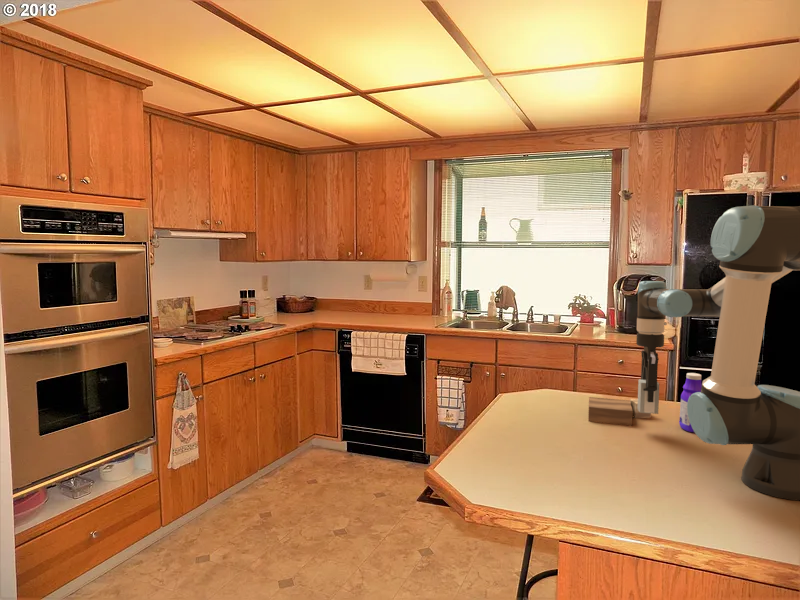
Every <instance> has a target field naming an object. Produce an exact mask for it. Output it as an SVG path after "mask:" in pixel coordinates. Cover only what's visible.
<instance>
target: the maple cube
mask: <svg viewBox="0 0 800 600" xmlns="http://www.w3.org/2000/svg"><path fill="white" fill-rule="evenodd" d="M629 401H630V403H631V407H632V410H633V415H632V417H633V416H634V417H633V418H634V419H651V416H652V413H640V412H639V410H638V409H637V407H638V398H636V399H632V398H630V399H629Z"/></svg>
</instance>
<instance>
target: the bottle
mask: <svg viewBox="0 0 800 600" xmlns="http://www.w3.org/2000/svg"><path fill="white" fill-rule="evenodd" d="M685 377H686V379H685V383H684V384H683V386H682V388H683V391H682V392H681V394H680V405H679V406H680V407H679V408H680V409H679V420H678V424H679V427H680V428H681V430H682V429H683V430H684V431H686V432H688V433H695V432H694V430H693V429H692V426H691V424H690V421H689V418H688V412H687V403H688V399H689V397H690V396H691V395H692V394H693V393H696V392H701V387H702V374H700V373H696V372H687V373H686V376H685Z"/></svg>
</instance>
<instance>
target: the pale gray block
mask: <svg viewBox="0 0 800 600" xmlns="http://www.w3.org/2000/svg"><path fill="white" fill-rule="evenodd" d="M637 382H638V384H637V399H638V407H637V409H638V410H639V412H640V413H647V412H644V401H645V391H643V389H646V380H641V378H639V379H638V381H637ZM659 403H660V382H658V381H657V390H655V412H654V413H651V415H652V414H655V415H658V414H659V410H660V409H659Z"/></svg>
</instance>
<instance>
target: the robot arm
mask: <svg viewBox="0 0 800 600" xmlns="http://www.w3.org/2000/svg"><path fill="white" fill-rule="evenodd" d="M710 248H712V249H711V252H712V253H711V254H712V255H713V256H714V258H716V259H717V260H718V261H719V265H718V267H719V268H720V269H721V271H722V272H724V275H725V277H723V278H722V279H721V280H720V281H718V282H717V283H716V284H714V285H713V286H711V287H710V288H708V289H705V288H704V289H703V288H701V289H698V288H695V289H689V288H687V289H686V288H685V289H684V288H681V289H680V288H667V283H666V282H665V281H659V280H656V281H655V280H643V281H640V282H639V284H638V288H637V289H638V292H637V316H636V331H637V332H636V341H635V342H636V345H637V346H638V347H642V348H643V350H641V366H640V367H641V370H640V379H641V380H646V389H643V391H645V401H644V412H647V413H651V414H652V413H654V412H655V390H657V382H658V365H659V354H658V352H657V350H656V349H657V348H662V347H663V348H664V346H665V335H664V334H663V333H664V332H665V326H667V325H668V323H667V322H666V317H668V318H681V317H682V318H683V317H718V318H719V320H718V326H717V333H716V339H715V344H714V345H715V346H714V353H713V358H712V359H713V360H712V366H711V371H710V372H711V373H710V376H708V377H707V378H705V379H703V380H702V381H701V384H702V387H701V392H696V393H693V394H692V395H691V396H690V397H689V399H688V403H687V412H688V418H689V421H690V424H691V426H692V429H693V430H694V432H693V433H694V434H695V435H696V436H697V437H698V438H699V440H701V441H702V442H703V443H705V444H710V445H721V446H727V445H752V448H751V450H750V453H749V455H748V457H747V459H746V461H745V463H744V465H743V467H742V469H741V470H742V471H741V481H742V482H743V484H744V485H746V486H747V487H749V488H751V489H752V490H755V491H756V492H759V493H762V494H765V495H768V496H772V497H776V498H780V499H786V500H791V501H800V391H798V390H796V389H795V390H793V389H790V388H786V387H782V386H776V385H769V384H758V385H756V384H755V382H756V378H757V370H758V366H759V365H758V364H759V359H760V353H761V347H762V343H763V342H762V341H763V336H764V329H765V324H766V318H767V317H766V316H767V312H768V305H769V302H770V301H769V300H770V294H771V288H772V284H773V283H775V282H776V281H778V280H780V279H781V278H783V277H784V276H786V275H788V274H789V273H791V272H792V271H800V205H799V206H796V205H795V206H777V205H776V206H774V205H772V206H771V205H756V204H755V205H743V206H735V207H731V208H729V209H727V210H726V211H724V212H723V214H722V215H721V216H719V218H718V219H717V221H716V222H715V224H714V226H713V229H712V232H711V237H710Z"/></svg>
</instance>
